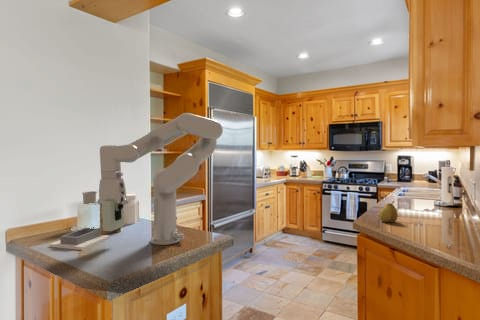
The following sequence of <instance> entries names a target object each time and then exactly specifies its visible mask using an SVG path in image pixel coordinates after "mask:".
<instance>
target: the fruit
mask: <svg viewBox="0 0 480 320" xmlns="http://www.w3.org/2000/svg"><path fill="white" fill-rule="evenodd" d="M394 202H395V201H394V200H393V201H392V202H391V203H387V204H386V205H384V206H383V207H382V208H381V209H380V210H379V214H378V215H379V219H380V220H381V221H382V223H389V224H391V223H395V222H397V220H398V215H399V214H398V211H397V209H396V207H395V206H394Z"/></svg>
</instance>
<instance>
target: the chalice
mask: <svg viewBox="0 0 480 320" xmlns="http://www.w3.org/2000/svg"><path fill="white" fill-rule="evenodd" d="M97 193H98V191H83V192H81V194H82V197H83V198H82V202H83V205H84V204H89V203H95V204H96V202H97Z"/></svg>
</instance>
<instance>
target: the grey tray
mask: <svg viewBox="0 0 480 320" xmlns="http://www.w3.org/2000/svg"><path fill="white" fill-rule="evenodd" d="M59 237H60V239H59V240H57V241H54V242H51V243H49V247H50V248H59V249H69V250H78V251H79V250H80V251H84V250H86V249H89V248H90V247H94V246H96V245H97V244H99V243H102V242H104V241H107V240H109V239H110V237H111V235H107V234H102V235H101V234H100V228H91V229H90V228H85V227H83V228H80V229H78V230H75V231H72V232H69V233H66V234H63V235H60V236H59Z"/></svg>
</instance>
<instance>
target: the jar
mask: <svg viewBox="0 0 480 320" xmlns="http://www.w3.org/2000/svg"><path fill="white" fill-rule="evenodd" d="M126 199H127V201H128V204H126V205H125V206H124V207H123V211H124V226H127V225H134V224H136V223H137V222H139V221H140V202H139V200H138V199H137V194H136V193H126Z"/></svg>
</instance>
